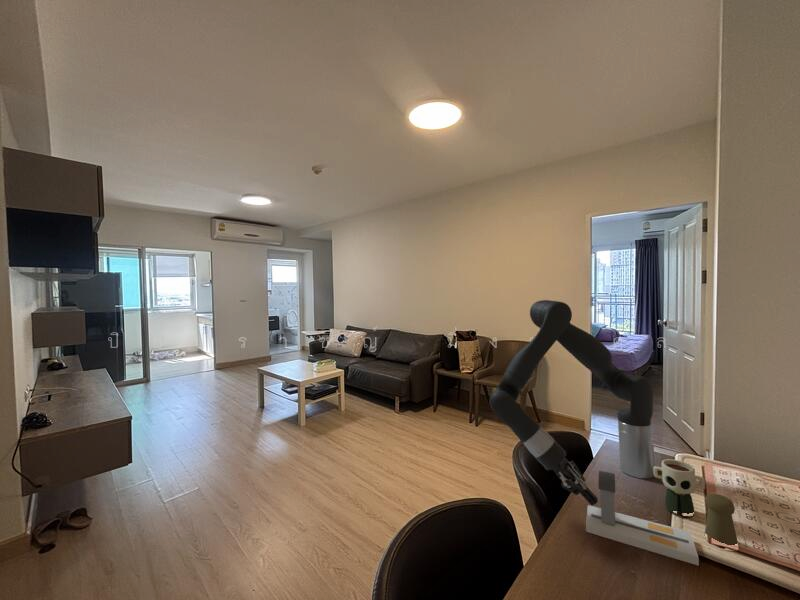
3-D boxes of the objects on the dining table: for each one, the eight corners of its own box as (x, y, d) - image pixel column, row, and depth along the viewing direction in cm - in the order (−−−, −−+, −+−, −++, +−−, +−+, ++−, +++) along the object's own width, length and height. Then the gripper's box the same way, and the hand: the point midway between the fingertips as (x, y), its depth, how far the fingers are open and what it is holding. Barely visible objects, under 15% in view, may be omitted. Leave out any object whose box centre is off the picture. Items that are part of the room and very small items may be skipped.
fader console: (586, 531, 85) (585, 523, 85) (588, 511, 93) (587, 504, 93) (698, 565, 73) (698, 556, 73) (690, 539, 81) (690, 531, 81)
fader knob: (600, 523, 85) (598, 481, 85) (600, 510, 90) (599, 470, 90) (617, 528, 83) (614, 485, 83) (616, 514, 88) (614, 473, 88)
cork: (746, 552, 76) (744, 505, 76) (716, 550, 77) (713, 503, 77) (726, 534, 82) (724, 490, 82) (698, 531, 83) (696, 488, 83)
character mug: (654, 510, 92) (652, 464, 92) (655, 498, 97) (653, 454, 97) (707, 526, 85) (705, 477, 85) (705, 512, 90) (703, 465, 90)
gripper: (549, 450, 87) (606, 509, 81) (556, 431, 98) (606, 482, 92) (529, 465, 90) (582, 523, 84) (538, 445, 101) (585, 496, 95)
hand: (595, 502), depth 88 cm, fingers closed
